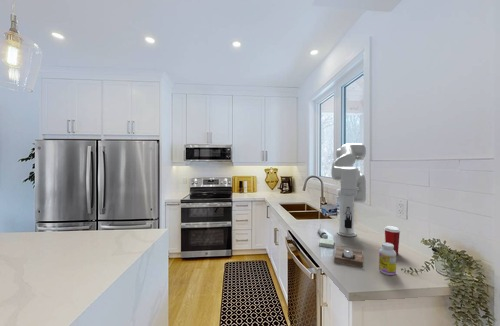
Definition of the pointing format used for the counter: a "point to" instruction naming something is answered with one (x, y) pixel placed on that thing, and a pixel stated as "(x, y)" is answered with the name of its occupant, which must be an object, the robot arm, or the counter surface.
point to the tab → (327, 243)
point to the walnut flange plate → (340, 258)
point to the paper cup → (392, 236)
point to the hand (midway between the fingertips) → (348, 225)
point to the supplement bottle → (387, 259)
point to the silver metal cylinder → (348, 254)
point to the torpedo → (322, 233)
